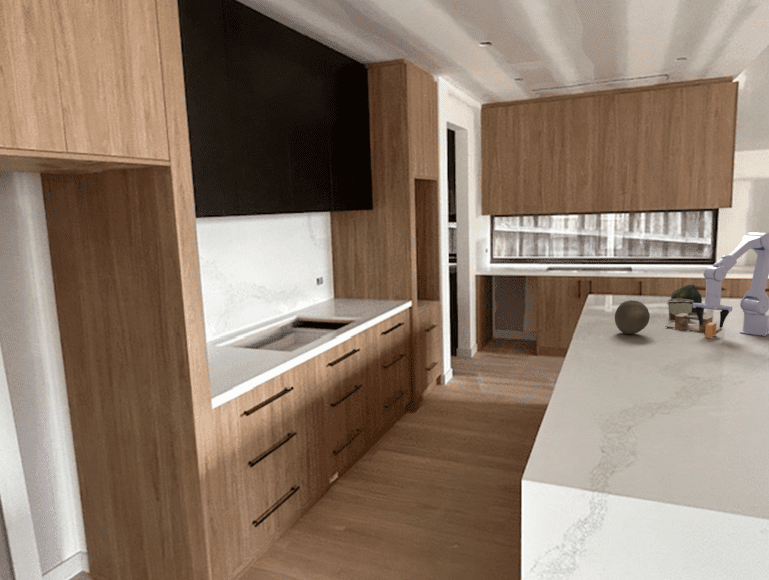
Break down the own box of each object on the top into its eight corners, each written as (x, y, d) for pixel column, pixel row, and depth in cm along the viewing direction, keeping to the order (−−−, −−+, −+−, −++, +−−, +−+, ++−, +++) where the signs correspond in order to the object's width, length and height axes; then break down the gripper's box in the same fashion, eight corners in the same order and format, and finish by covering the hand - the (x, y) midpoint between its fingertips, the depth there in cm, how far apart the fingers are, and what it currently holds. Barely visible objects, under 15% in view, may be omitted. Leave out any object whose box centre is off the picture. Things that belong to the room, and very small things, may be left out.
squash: (660, 299, 303) (678, 280, 293) (679, 297, 310) (697, 279, 299) (676, 319, 295) (695, 301, 285) (695, 317, 301) (714, 300, 291)
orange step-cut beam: (715, 335, 242) (716, 322, 241) (711, 338, 237) (712, 325, 236) (709, 334, 243) (710, 322, 242) (704, 337, 238) (705, 324, 237)
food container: (687, 318, 279) (688, 298, 277) (693, 320, 273) (694, 300, 271) (661, 318, 280) (663, 298, 279) (666, 320, 274) (668, 300, 272)
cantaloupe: (612, 336, 243) (613, 302, 241) (615, 329, 256) (617, 297, 254) (647, 339, 237) (649, 304, 235) (649, 332, 249) (651, 299, 247)
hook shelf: (721, 329, 253) (722, 316, 252) (713, 334, 244) (714, 321, 243) (674, 323, 267) (674, 311, 266) (665, 327, 258) (665, 315, 257)
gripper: (691, 294, 239) (689, 325, 241) (730, 297, 229) (727, 329, 231) (696, 292, 244) (694, 322, 246) (734, 295, 234) (732, 327, 236)
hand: (710, 326), depth 239 cm, fingers open, 7 cm apart
